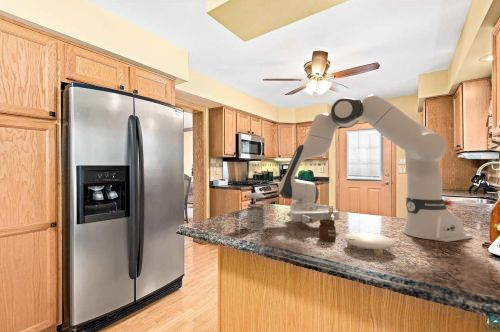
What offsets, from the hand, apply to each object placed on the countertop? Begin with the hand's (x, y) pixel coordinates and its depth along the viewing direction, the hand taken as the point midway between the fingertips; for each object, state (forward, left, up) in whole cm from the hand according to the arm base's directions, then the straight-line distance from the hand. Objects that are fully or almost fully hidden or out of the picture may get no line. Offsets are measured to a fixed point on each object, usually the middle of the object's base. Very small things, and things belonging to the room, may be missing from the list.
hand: (321, 219), depth 94 cm
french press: (+22, -17, -7) cm, 29 cm away
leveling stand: (-8, +17, -6) cm, 20 cm away
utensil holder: (0, +5, -7) cm, 8 cm away
